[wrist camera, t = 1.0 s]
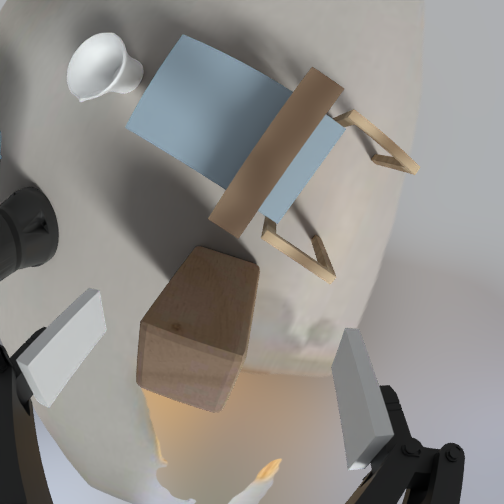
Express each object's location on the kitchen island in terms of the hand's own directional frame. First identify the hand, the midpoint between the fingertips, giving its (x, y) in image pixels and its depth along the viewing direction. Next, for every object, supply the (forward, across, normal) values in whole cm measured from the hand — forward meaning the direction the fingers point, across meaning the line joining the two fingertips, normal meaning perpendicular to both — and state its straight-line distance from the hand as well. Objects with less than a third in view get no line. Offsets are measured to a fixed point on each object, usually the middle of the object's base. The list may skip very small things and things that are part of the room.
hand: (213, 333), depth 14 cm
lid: (+19, -2, +11) cm, 22 cm away
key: (+15, +2, +9) cm, 17 cm away
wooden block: (+27, -4, -12) cm, 30 cm away
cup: (+27, -20, +18) cm, 38 cm away
